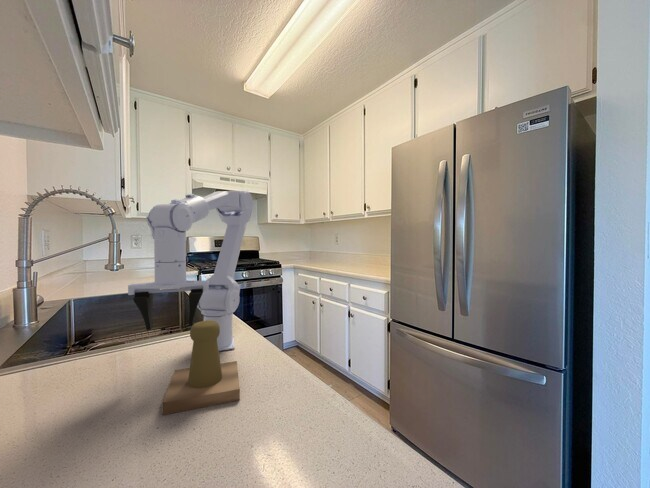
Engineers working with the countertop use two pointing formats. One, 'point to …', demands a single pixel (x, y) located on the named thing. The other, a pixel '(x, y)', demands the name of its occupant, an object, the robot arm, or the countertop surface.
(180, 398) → the walnut base
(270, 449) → the countertop surface
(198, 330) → the olive tapered knobbed peg
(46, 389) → the countertop surface
